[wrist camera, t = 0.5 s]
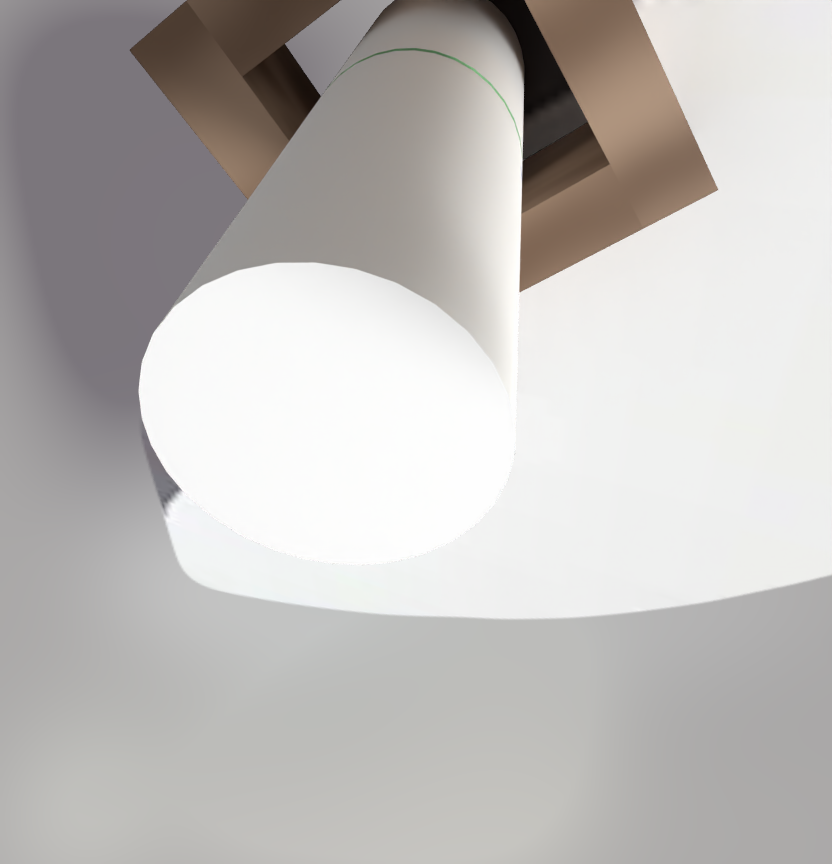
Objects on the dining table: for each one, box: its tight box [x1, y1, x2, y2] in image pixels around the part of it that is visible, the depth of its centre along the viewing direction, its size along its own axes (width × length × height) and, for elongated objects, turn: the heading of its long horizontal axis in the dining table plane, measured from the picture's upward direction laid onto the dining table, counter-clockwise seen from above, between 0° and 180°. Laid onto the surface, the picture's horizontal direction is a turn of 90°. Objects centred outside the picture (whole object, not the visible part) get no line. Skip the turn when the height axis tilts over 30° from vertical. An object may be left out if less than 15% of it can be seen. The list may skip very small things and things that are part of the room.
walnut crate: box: [130, 0, 718, 292], centre depth 32 cm, size 16×16×6 cm
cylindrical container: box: [139, 0, 524, 565], centre depth 25 cm, size 7×7×25 cm
